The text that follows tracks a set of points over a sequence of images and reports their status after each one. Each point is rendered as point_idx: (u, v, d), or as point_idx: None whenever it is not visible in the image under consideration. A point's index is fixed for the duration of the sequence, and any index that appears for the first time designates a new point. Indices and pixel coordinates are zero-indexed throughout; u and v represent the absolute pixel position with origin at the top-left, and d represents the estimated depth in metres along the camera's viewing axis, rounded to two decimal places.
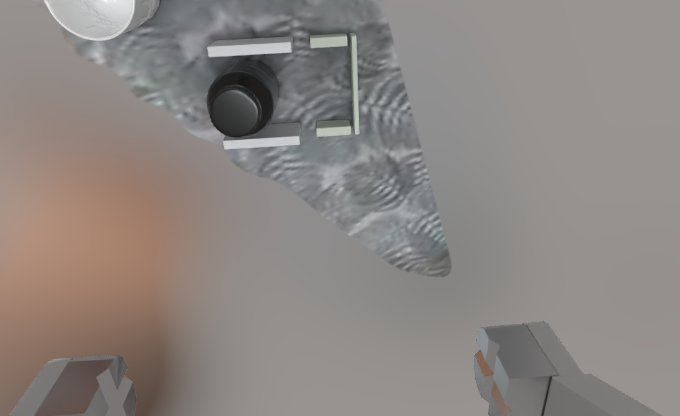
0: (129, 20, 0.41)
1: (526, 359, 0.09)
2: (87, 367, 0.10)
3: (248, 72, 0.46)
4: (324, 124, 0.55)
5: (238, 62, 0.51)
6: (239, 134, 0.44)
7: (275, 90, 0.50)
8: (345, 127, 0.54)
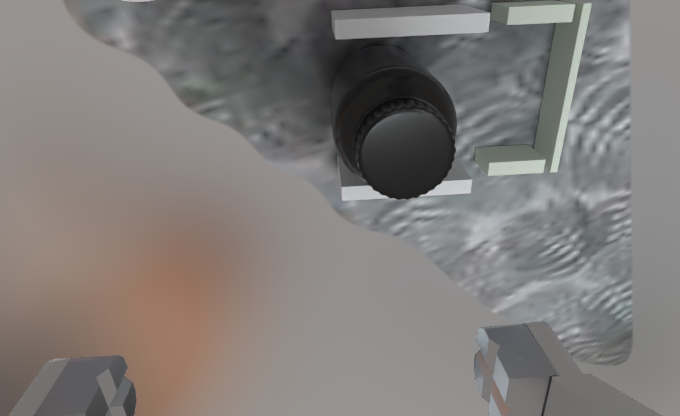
0: None
1: (525, 359, 0.09)
2: (87, 367, 0.10)
3: (419, 70, 0.24)
4: (495, 154, 0.33)
5: (371, 49, 0.29)
6: (409, 193, 0.23)
7: None
8: (537, 161, 0.32)
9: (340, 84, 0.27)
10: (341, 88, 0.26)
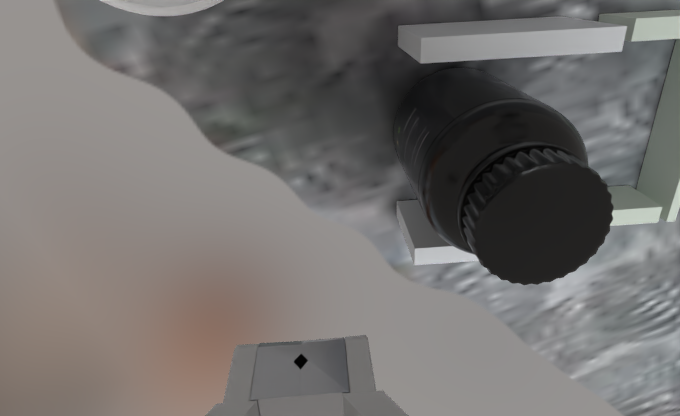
0: None
1: (326, 375, 0.09)
2: (279, 352, 0.10)
3: (542, 104, 0.17)
4: None
5: (452, 74, 0.23)
6: (540, 276, 0.16)
7: None
8: (652, 209, 0.26)
9: (421, 120, 0.20)
10: (426, 127, 0.20)
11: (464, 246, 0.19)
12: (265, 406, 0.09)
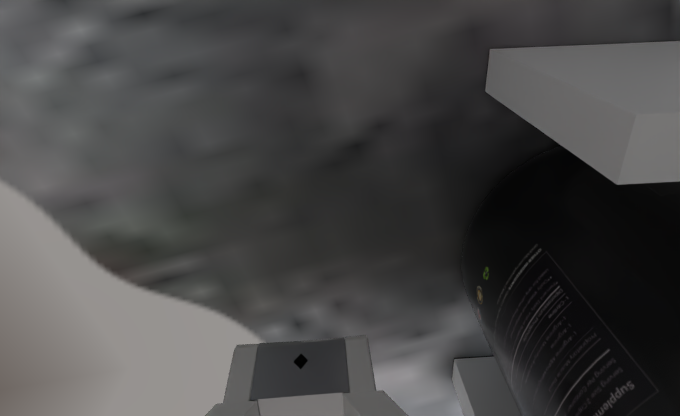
0: None
1: (326, 375, 0.09)
2: (279, 352, 0.10)
3: None
4: None
5: None
6: None
7: None
8: None
9: (576, 307, 0.08)
10: (610, 349, 0.07)
11: None
12: (265, 406, 0.09)
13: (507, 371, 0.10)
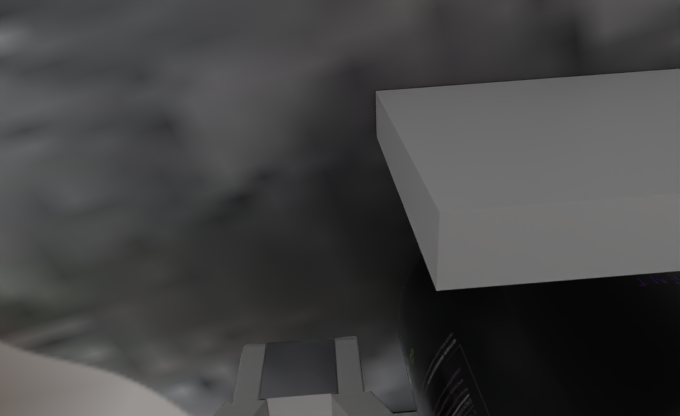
0: None
1: (316, 376, 0.09)
2: (287, 352, 0.10)
3: None
4: None
5: None
6: None
7: None
8: None
9: None
10: None
11: None
12: (274, 405, 0.09)
13: None
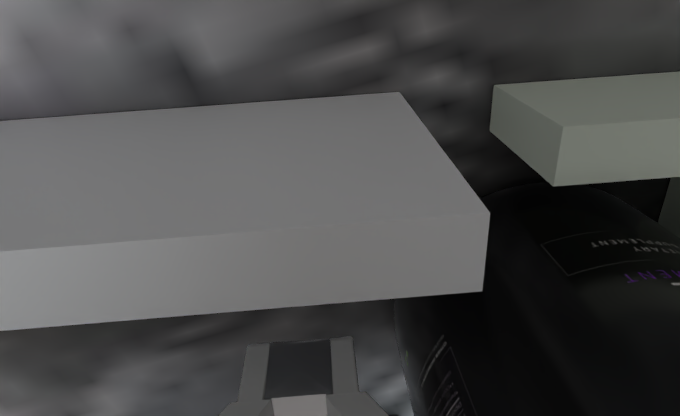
0: None
1: (310, 376, 0.09)
2: (291, 351, 0.10)
3: None
4: None
5: (530, 226, 0.09)
6: None
7: None
8: None
9: None
10: None
11: None
12: (279, 405, 0.09)
13: None
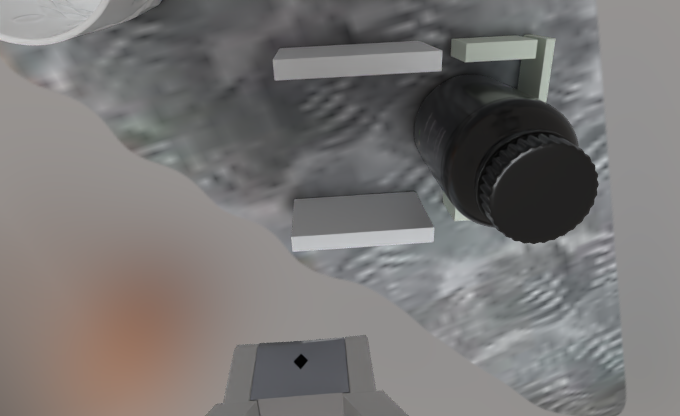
0: None
1: (326, 375, 0.09)
2: (279, 352, 0.10)
3: (535, 99, 0.22)
4: None
5: (460, 81, 0.27)
6: (545, 236, 0.20)
7: None
8: None
9: (438, 122, 0.25)
10: (443, 126, 0.24)
11: (483, 220, 0.23)
12: (265, 406, 0.09)
13: (427, 160, 0.27)
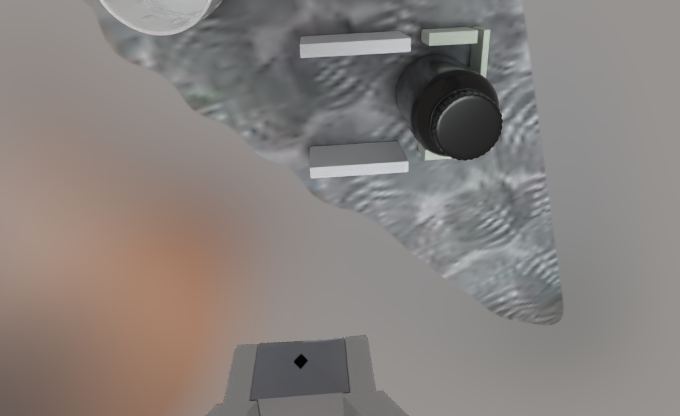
0: (206, 6, 0.29)
1: (326, 375, 0.09)
2: (279, 352, 0.10)
3: (469, 70, 0.34)
4: None
5: (426, 59, 0.39)
6: (472, 155, 0.32)
7: None
8: None
9: (409, 86, 0.37)
10: (411, 89, 0.36)
11: (437, 150, 0.35)
12: (265, 406, 0.09)
13: (403, 114, 0.39)
